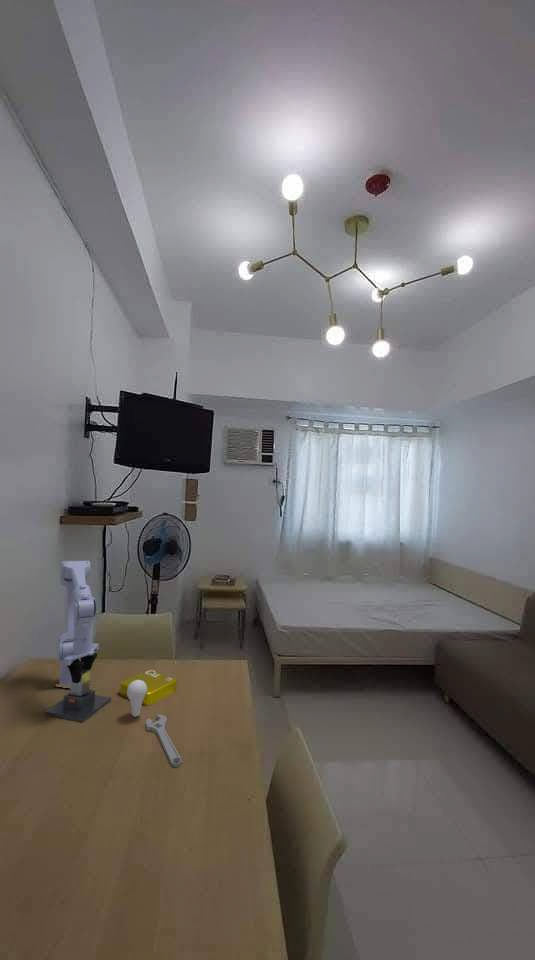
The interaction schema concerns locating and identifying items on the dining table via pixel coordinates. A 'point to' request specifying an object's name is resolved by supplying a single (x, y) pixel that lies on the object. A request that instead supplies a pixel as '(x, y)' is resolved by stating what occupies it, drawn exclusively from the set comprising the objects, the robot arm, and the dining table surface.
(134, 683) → the lightbulb
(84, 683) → the stand column
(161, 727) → the adjustable wrench
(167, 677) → the element tile
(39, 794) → the dining table surface
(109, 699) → the stand base
